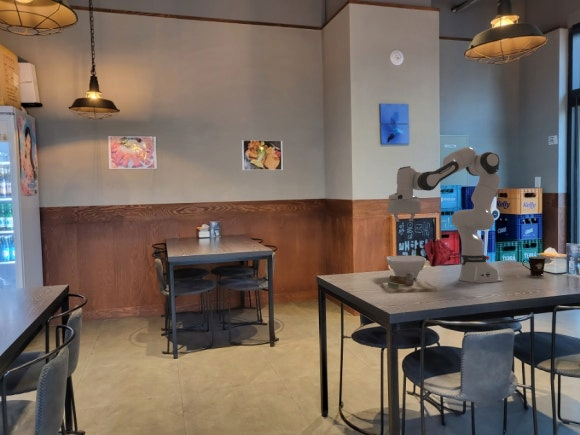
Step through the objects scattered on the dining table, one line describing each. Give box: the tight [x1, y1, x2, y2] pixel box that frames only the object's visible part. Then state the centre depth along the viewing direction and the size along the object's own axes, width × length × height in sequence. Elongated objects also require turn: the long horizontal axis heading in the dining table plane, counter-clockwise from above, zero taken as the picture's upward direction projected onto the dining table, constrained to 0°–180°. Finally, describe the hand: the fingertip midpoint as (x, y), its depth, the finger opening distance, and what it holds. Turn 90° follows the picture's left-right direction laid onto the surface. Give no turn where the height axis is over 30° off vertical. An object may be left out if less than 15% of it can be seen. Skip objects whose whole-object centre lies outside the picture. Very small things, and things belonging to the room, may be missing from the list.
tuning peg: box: [389, 272, 414, 285], centre depth 245 cm, size 12×4×6 cm, turn 72°
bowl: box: [386, 255, 427, 279], centre depth 272 cm, size 22×22×12 cm
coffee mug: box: [522, 256, 546, 276], centre depth 273 cm, size 12×9×10 cm
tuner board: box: [380, 281, 438, 294], centre depth 243 cm, size 24×18×4 cm
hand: (404, 221), depth 256 cm, fingers open, 8 cm apart
